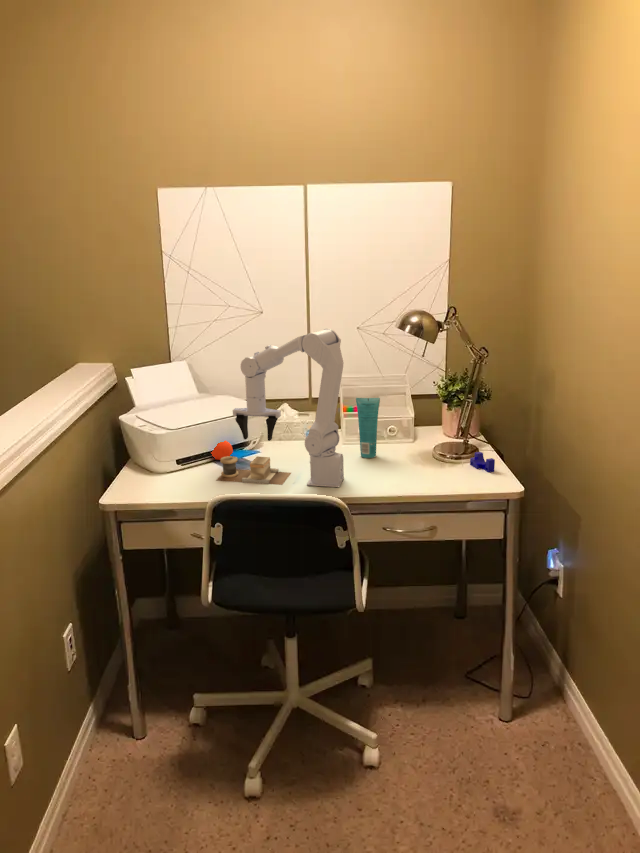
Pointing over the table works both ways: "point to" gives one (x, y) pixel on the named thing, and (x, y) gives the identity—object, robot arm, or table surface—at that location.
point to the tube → (368, 425)
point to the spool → (229, 466)
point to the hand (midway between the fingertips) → (257, 439)
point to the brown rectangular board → (245, 476)
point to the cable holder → (482, 462)
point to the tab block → (260, 467)
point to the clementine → (222, 450)
